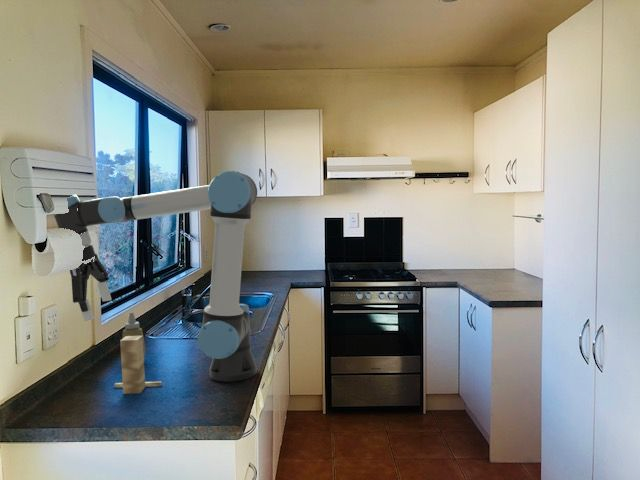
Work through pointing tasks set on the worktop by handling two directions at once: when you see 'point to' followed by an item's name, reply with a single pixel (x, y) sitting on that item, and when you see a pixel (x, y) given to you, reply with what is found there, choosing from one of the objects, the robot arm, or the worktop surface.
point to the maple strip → (147, 384)
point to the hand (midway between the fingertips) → (98, 309)
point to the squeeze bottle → (133, 329)
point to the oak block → (132, 364)
